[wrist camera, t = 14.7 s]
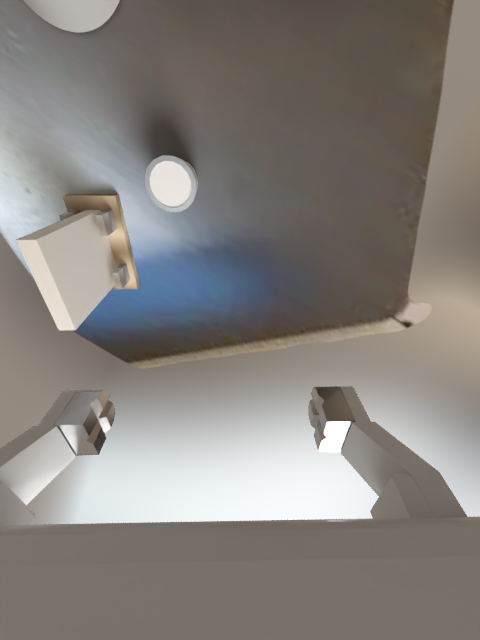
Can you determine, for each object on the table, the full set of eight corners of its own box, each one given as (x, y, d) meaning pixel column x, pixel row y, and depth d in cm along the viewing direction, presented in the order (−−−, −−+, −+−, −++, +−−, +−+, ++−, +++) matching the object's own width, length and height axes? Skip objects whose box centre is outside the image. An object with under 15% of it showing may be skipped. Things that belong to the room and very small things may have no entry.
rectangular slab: (79, 210, 41) (6, 240, 28) (100, 209, 41) (36, 239, 28) (102, 279, 48) (51, 330, 35) (119, 279, 48) (75, 330, 35)
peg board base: (68, 194, 42) (47, 200, 37) (118, 194, 42) (104, 200, 37) (98, 285, 50) (84, 299, 46) (140, 285, 50) (130, 299, 46)
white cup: (210, 187, 41) (206, 194, 36) (176, 212, 43) (167, 222, 37) (183, 143, 38) (173, 142, 32) (147, 171, 40) (133, 176, 34)
